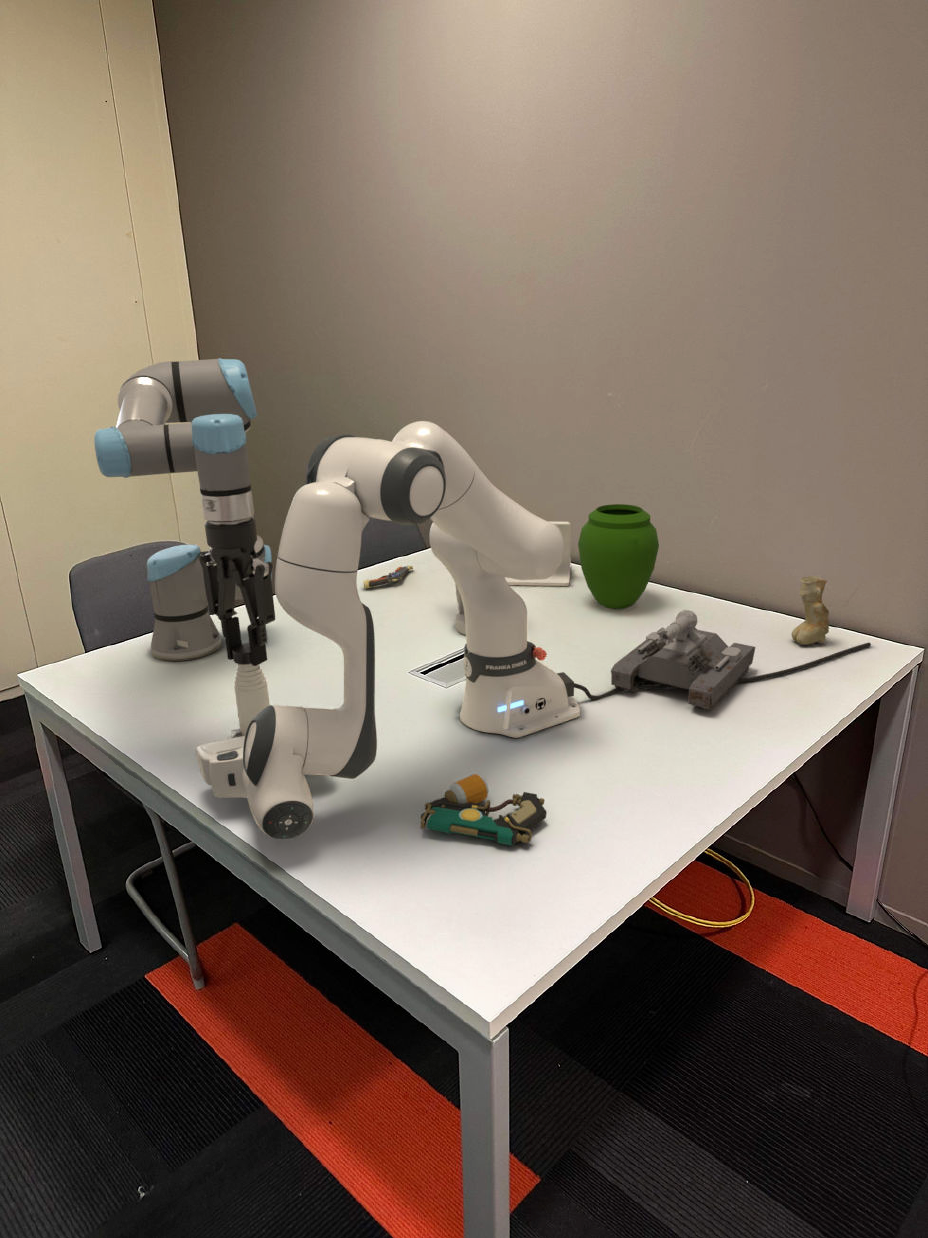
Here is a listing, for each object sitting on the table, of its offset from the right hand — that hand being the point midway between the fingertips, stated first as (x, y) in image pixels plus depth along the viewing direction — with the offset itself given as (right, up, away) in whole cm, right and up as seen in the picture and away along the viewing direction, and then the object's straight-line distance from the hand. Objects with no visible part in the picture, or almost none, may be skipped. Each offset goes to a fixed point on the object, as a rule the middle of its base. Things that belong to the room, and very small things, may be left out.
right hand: (255, 729), depth 144 cm
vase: (+73, +22, +71) cm, 104 cm away
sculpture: (+111, +13, +45) cm, 120 cm away
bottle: (+1, -6, +2) cm, 6 cm away
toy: (+79, +6, +28) cm, 84 cm away
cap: (0, +14, -6) cm, 15 cm away
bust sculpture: (+36, +17, +61) cm, 73 cm away
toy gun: (+14, +29, +95) cm, 100 cm away
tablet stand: (+52, +31, +95) cm, 113 cm away
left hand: (0, +12, -5) cm, 13 cm away
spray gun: (+38, -12, -16) cm, 43 cm away
